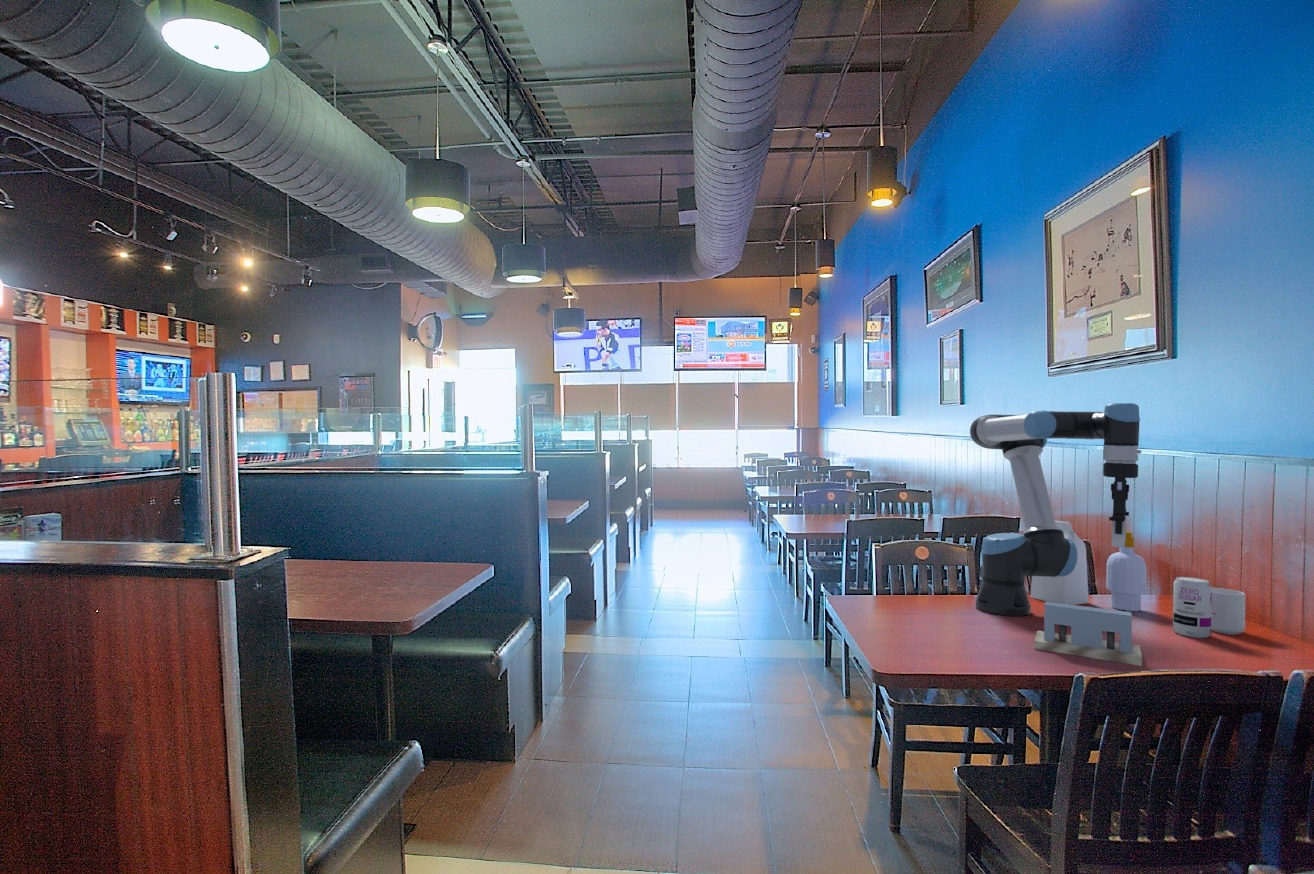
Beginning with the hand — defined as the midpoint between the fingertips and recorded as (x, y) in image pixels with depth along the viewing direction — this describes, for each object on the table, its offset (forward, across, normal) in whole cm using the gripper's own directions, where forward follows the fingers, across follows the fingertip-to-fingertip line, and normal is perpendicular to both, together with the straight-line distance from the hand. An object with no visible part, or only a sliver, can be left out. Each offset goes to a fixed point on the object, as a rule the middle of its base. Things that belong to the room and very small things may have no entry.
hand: (1118, 543), depth 175 cm
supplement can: (+26, +21, -16) cm, 37 cm away
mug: (+26, +32, -23) cm, 48 cm away
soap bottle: (+26, +44, -1) cm, 51 cm away
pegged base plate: (+26, -15, +6) cm, 30 cm away
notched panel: (+24, -16, +6) cm, 29 cm away
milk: (+27, +44, +17) cm, 54 cm away
